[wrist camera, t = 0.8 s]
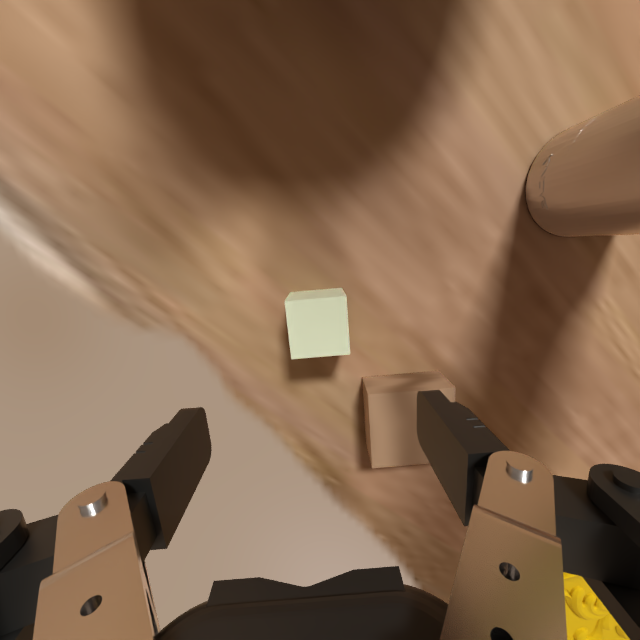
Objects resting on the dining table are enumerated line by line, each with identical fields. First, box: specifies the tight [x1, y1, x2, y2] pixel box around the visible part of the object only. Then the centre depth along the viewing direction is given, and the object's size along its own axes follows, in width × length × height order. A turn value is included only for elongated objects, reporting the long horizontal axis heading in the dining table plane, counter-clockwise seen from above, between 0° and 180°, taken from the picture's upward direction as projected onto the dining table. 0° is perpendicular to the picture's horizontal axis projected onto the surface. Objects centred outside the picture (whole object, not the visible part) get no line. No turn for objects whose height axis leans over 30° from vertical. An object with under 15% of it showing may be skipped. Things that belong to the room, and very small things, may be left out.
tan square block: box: [362, 371, 455, 468], centre depth 30 cm, size 8×8×4 cm
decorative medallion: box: [563, 572, 630, 640], centre depth 37 cm, size 24×24×2 cm
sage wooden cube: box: [285, 288, 350, 359], centre depth 27 cm, size 5×5×5 cm
